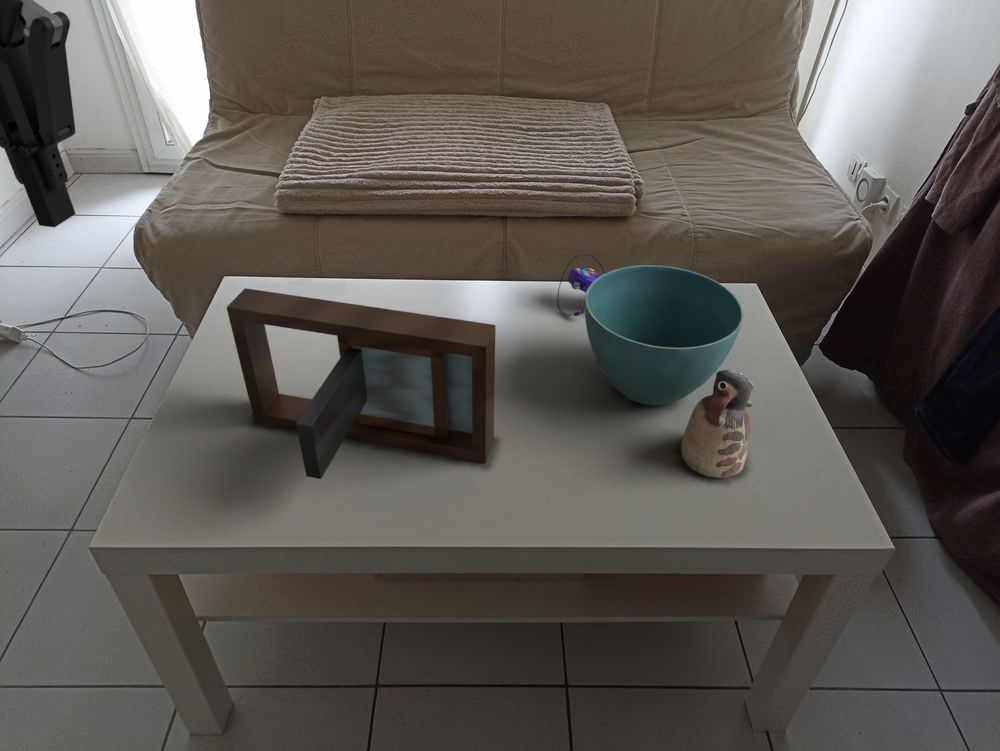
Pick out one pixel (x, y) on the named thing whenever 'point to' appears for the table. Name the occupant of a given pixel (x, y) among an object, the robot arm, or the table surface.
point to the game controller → (581, 280)
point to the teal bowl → (660, 330)
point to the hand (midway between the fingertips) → (57, 219)
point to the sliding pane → (374, 397)
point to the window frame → (458, 338)
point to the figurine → (720, 428)
